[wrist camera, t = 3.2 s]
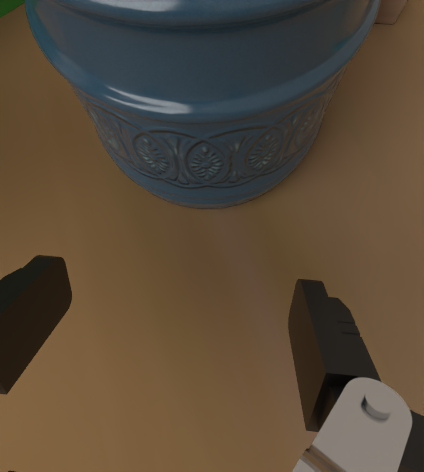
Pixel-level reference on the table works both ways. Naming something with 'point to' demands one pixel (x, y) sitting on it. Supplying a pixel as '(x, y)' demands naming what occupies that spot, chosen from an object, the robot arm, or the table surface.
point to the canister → (203, 84)
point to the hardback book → (9, 5)
